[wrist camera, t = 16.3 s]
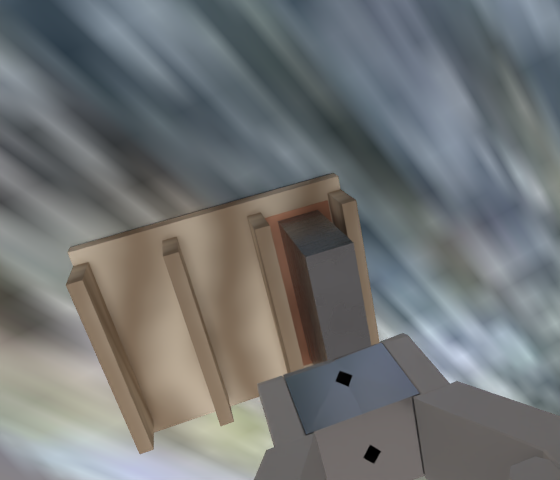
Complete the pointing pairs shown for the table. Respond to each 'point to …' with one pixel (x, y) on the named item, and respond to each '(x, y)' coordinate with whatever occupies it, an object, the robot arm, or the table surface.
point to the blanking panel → (325, 286)
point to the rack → (203, 305)
